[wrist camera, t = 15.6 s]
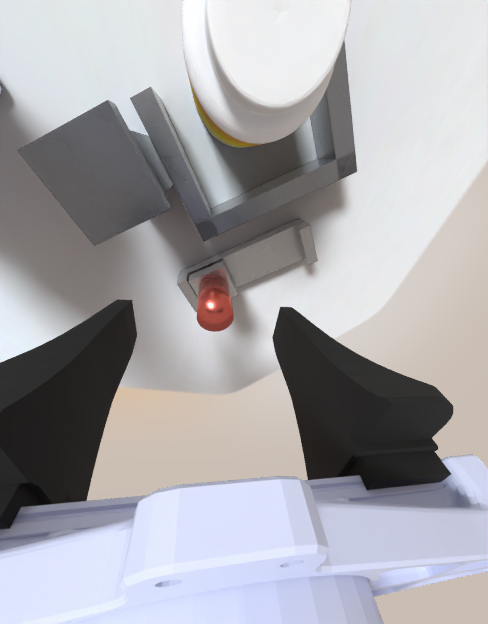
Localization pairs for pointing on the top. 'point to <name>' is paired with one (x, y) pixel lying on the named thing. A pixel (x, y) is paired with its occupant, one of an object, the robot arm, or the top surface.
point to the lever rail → (258, 257)
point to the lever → (214, 296)
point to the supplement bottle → (260, 63)
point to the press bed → (174, 166)
